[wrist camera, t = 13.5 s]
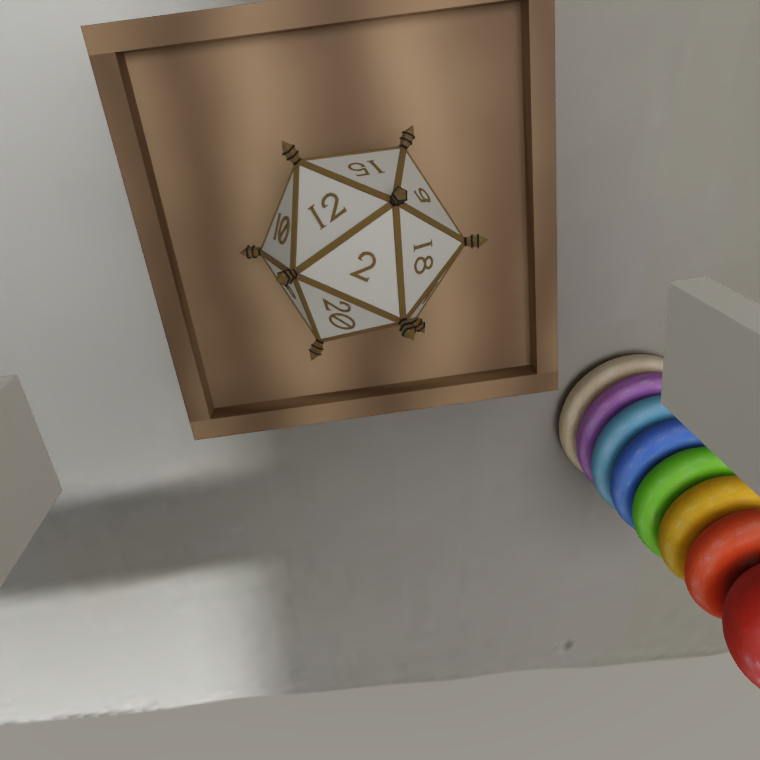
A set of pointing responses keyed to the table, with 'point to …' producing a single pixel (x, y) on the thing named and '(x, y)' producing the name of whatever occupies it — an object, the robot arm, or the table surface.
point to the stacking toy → (671, 493)
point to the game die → (360, 241)
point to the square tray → (328, 137)
